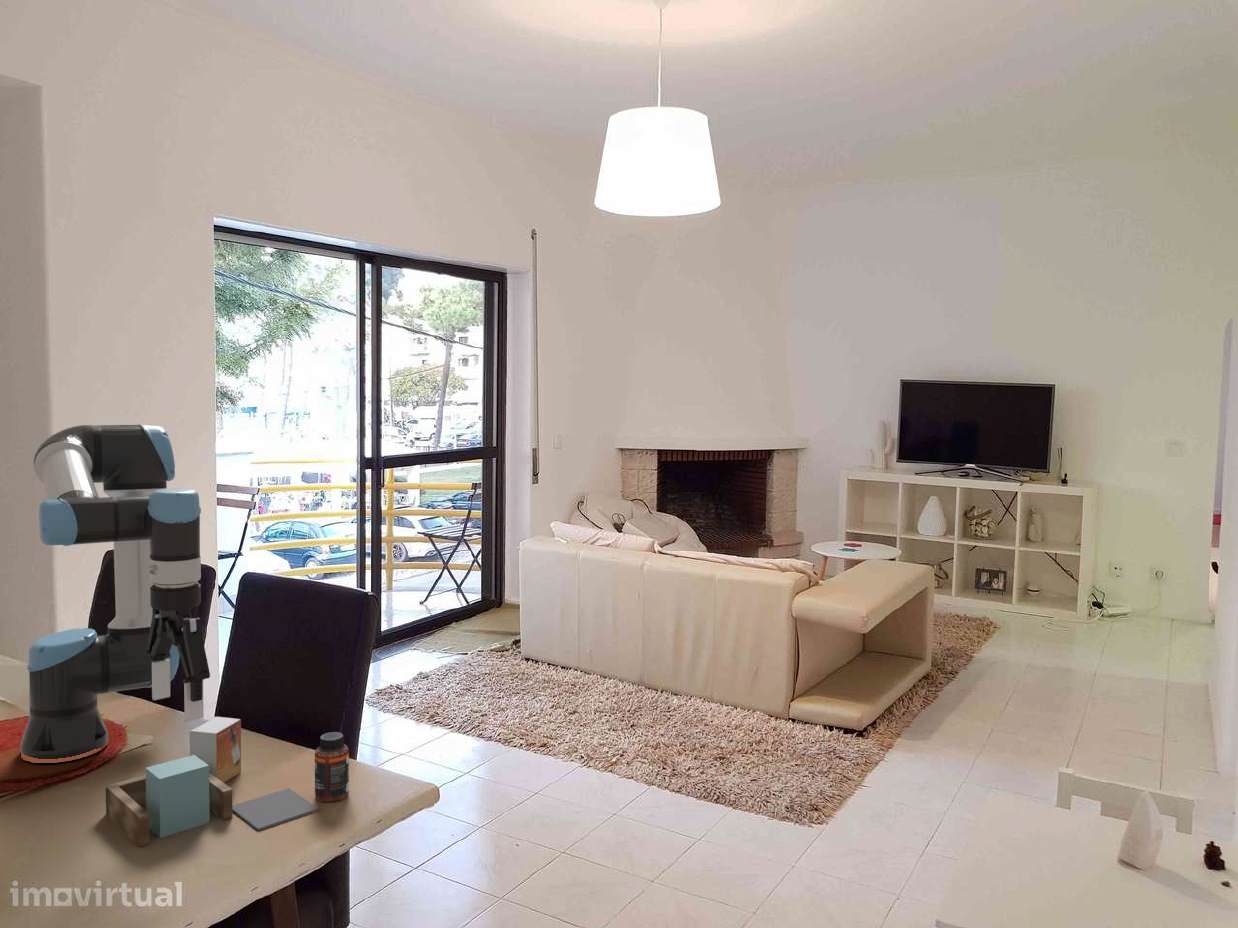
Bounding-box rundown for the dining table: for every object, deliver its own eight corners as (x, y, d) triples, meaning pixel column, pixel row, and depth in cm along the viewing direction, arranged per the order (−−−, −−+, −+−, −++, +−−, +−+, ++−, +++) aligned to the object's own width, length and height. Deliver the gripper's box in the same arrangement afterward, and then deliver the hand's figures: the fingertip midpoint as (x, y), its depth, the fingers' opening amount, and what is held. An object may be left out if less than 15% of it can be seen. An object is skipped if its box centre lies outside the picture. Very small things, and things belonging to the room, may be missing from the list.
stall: (106, 813, 160) (105, 785, 160) (195, 788, 171) (194, 761, 171) (139, 846, 150) (139, 816, 149) (232, 817, 160) (232, 789, 160)
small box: (216, 789, 171) (215, 733, 170) (189, 785, 172) (188, 730, 171) (242, 771, 179) (242, 718, 178) (216, 768, 180) (215, 715, 179)
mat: (229, 808, 163) (229, 806, 163) (288, 789, 171) (288, 787, 171) (258, 830, 156) (258, 828, 156) (318, 810, 164) (318, 807, 164)
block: (146, 825, 157) (145, 767, 156) (194, 810, 163) (194, 754, 162) (160, 837, 153) (159, 778, 152) (209, 822, 159) (208, 765, 158)
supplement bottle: (356, 793, 171) (356, 733, 170) (333, 806, 166) (333, 744, 165) (330, 786, 174) (330, 727, 172) (307, 798, 168) (307, 738, 167)
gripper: (123, 573, 160) (125, 694, 162) (182, 599, 143) (184, 734, 145) (169, 568, 165) (170, 685, 167) (231, 592, 148) (232, 722, 150)
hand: (177, 708), depth 156 cm, fingers open, 13 cm apart
